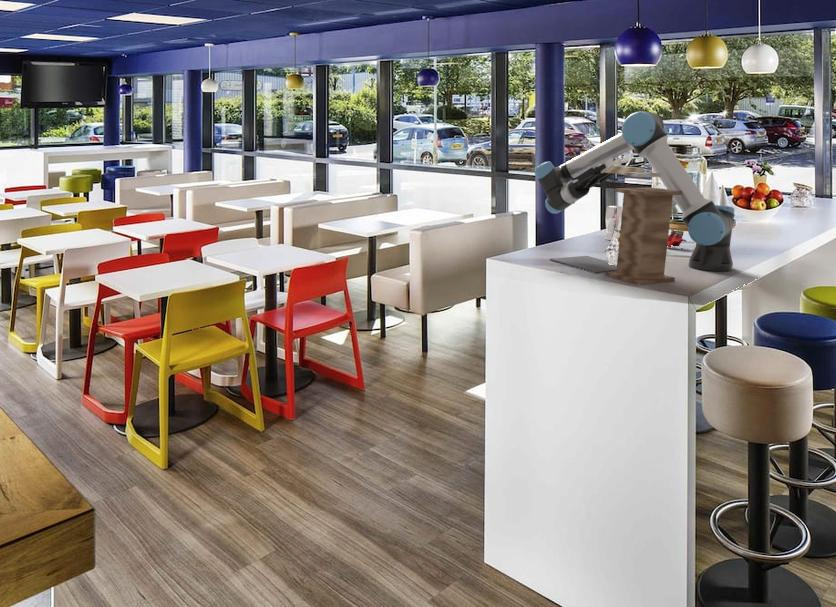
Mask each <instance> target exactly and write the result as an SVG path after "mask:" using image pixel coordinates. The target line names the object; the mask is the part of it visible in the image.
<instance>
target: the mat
mask: <svg viewBox="0 0 836 607" xmlns="http://www.w3.org/2000/svg"><path fill="white" fill-rule="evenodd" d="M549 261H552V262H554V263H557V264H560V265H566V266H569V267H572V266H573V268H575V267H576V269H578V268H580V269H579V270H582V269H584V270H583V271H585V270H587V271H586V272H589V271H590V272H589V273H592V272H594V273H593V274H601V272H605V273H606V272H611V271H617V266H615V265H609V264H608V262H607V261H608V260H604V259H601V258H597V257H593V256H590V255H580V256H579V255H577V256H568V257H566V256H565V257H553V258H549Z"/></svg>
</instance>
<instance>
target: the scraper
mask: <svg viewBox="0 0 836 607" xmlns="http://www.w3.org/2000/svg"><path fill="white" fill-rule="evenodd" d="M600 165H602V164H598V167H599V166H600ZM605 173H614V174H615V175H623V176H625V177H630V178H631V177H632V178H659V177H661V173H656V172H653V171H652V172H651V171H645V168H644V167H637V166H625V165H624V166H623V165H621V166H616V165H614V166H612V167H611V168H610V169H608V170H607V171H605Z"/></svg>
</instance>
